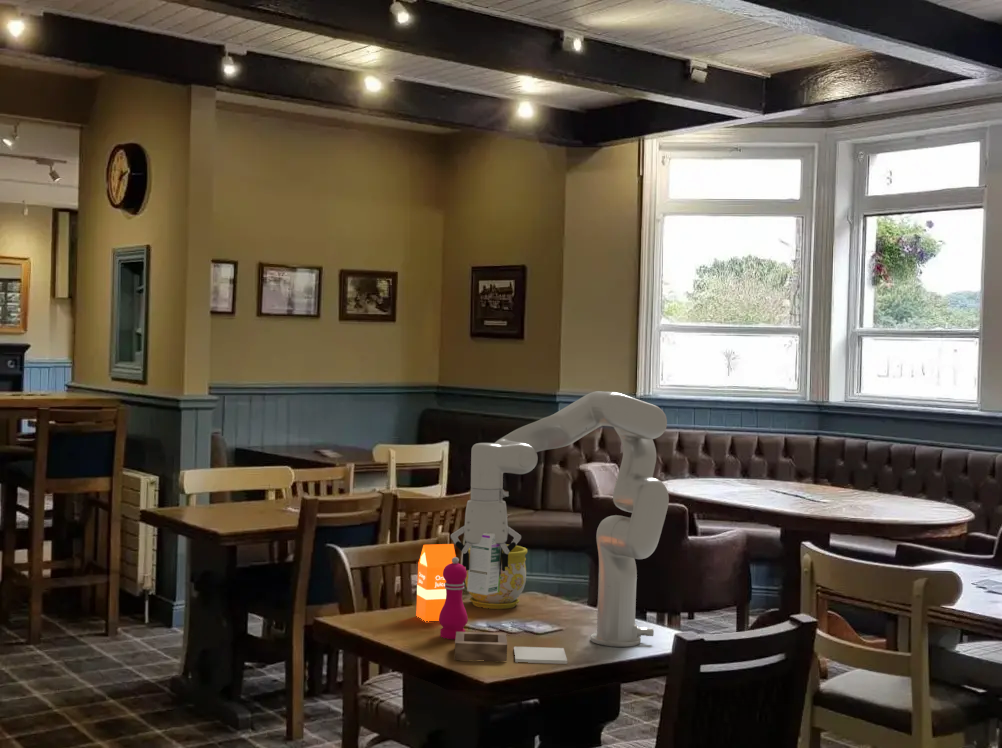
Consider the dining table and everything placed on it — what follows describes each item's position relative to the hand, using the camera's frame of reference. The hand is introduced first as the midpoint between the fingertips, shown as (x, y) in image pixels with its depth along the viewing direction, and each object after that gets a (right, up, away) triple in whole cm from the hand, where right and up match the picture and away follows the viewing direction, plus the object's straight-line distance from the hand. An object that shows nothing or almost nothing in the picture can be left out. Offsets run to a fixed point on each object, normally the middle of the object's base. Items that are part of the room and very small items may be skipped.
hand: (485, 569), depth 265 cm
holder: (-1, -20, 0) cm, 20 cm away
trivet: (+13, -21, 0) cm, 24 cm away
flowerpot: (+2, -21, +60) cm, 63 cm away
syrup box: (-1, -6, 0) cm, 6 cm away
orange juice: (-14, -20, +38) cm, 46 cm away
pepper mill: (-8, -20, +17) cm, 28 cm away
